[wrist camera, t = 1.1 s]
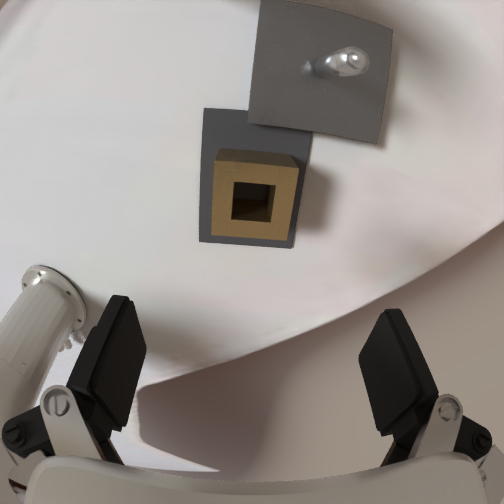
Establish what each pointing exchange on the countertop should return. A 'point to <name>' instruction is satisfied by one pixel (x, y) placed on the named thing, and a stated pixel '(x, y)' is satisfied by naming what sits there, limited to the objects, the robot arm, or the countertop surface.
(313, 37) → the grey peg stand
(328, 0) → the countertop surface
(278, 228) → the collar
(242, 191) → the mat
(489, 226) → the countertop surface
